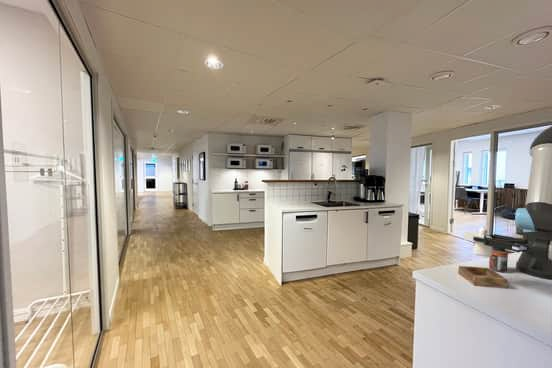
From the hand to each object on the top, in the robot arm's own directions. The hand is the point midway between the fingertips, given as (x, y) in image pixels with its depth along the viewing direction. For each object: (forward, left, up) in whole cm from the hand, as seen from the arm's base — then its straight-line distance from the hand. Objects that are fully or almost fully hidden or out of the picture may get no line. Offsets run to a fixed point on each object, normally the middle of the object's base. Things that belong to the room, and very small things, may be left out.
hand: (466, 235), depth 99 cm
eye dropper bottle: (-4, +4, -7) cm, 9 cm away
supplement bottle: (-18, -9, -18) cm, 27 cm away
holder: (-4, +4, -18) cm, 18 cm away
